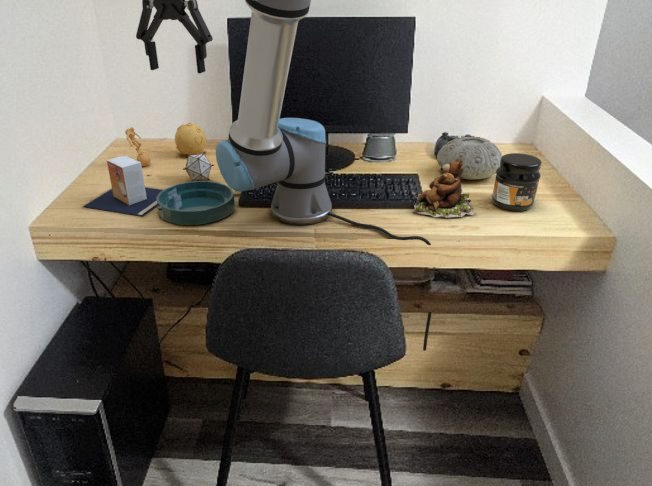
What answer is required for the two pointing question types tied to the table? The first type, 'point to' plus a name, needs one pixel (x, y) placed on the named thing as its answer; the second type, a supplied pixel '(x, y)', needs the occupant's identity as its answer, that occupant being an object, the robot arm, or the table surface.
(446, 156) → the decorative shell
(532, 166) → the supplement container
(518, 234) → the table surface
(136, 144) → the figurine
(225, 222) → the table surface
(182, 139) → the stress ball
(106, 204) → the book
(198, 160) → the game die
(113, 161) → the small box
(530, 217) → the table surface
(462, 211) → the bear figurine
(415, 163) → the table surface
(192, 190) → the bowl
